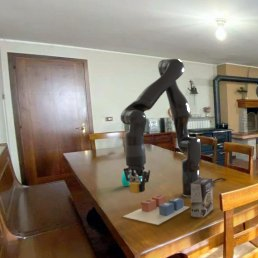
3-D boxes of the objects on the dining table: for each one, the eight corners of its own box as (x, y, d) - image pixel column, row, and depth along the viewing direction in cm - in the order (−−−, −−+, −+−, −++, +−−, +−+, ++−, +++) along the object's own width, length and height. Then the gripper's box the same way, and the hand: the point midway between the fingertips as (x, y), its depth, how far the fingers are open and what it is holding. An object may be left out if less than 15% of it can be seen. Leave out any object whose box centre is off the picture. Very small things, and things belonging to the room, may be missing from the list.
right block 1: (166, 210, 117) (166, 201, 117) (174, 212, 116) (173, 203, 115) (159, 214, 113) (158, 205, 113) (166, 216, 112) (166, 206, 111)
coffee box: (203, 218, 111) (203, 184, 109) (190, 217, 112) (190, 183, 110) (213, 210, 120) (212, 178, 118) (201, 209, 121) (200, 177, 119)
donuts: (140, 187, 150) (139, 171, 149) (121, 188, 147) (120, 172, 146) (144, 182, 159) (143, 167, 158) (126, 183, 156) (125, 168, 155)
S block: (138, 189, 114) (138, 179, 113) (145, 190, 112) (145, 180, 112) (129, 192, 110) (129, 182, 109) (137, 193, 108) (136, 183, 108)
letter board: (157, 201, 129) (157, 200, 128) (189, 208, 122) (189, 207, 122) (122, 217, 111) (122, 216, 111) (158, 226, 104) (158, 224, 104)
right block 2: (176, 205, 123) (176, 197, 122) (183, 207, 121) (183, 198, 121) (169, 209, 119) (169, 200, 118) (176, 210, 117) (176, 201, 117)
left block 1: (149, 207, 121) (149, 198, 120) (156, 208, 119) (155, 199, 119) (141, 210, 117) (141, 201, 116) (148, 212, 115) (148, 203, 115)
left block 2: (159, 202, 126) (159, 194, 126) (166, 203, 125) (165, 195, 124) (152, 205, 122) (151, 197, 122) (159, 207, 121) (158, 198, 120)
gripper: (154, 153, 110) (156, 190, 112) (131, 151, 115) (134, 186, 117) (139, 157, 103) (142, 196, 105) (115, 154, 108) (118, 191, 110)
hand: (137, 190), depth 111 cm, fingers closed on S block, 4 cm apart
